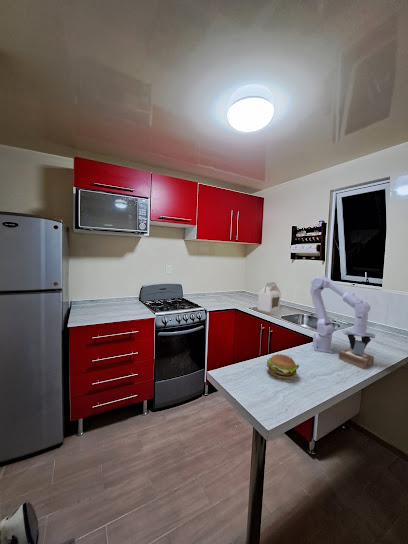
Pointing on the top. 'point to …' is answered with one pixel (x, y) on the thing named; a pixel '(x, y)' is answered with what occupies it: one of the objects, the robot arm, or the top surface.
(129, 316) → the top surface
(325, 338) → the robot arm
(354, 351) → the block
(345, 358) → the walnut base
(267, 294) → the gable box
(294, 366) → the food
